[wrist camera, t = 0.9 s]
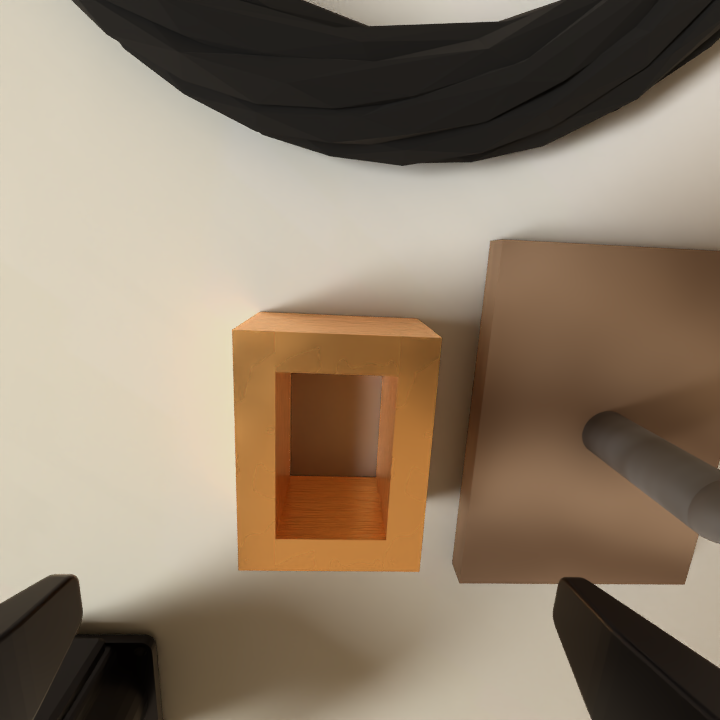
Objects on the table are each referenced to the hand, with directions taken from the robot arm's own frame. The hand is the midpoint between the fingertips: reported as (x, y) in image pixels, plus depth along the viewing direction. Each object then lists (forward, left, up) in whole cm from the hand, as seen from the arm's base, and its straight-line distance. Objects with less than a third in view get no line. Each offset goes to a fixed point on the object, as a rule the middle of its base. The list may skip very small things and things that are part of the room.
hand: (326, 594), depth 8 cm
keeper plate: (0, -11, -9) cm, 14 cm away
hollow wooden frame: (0, 0, -9) cm, 9 cm away
